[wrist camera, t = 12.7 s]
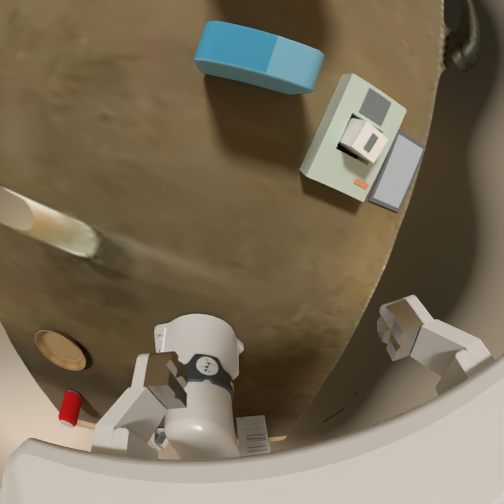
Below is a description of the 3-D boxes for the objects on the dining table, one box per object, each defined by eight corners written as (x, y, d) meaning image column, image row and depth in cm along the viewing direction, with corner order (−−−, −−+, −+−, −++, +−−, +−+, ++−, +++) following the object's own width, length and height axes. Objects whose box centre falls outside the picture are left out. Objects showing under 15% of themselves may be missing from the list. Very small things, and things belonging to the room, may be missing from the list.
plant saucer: (43, 313, 47) (38, 320, 45) (95, 345, 53) (92, 354, 51) (36, 342, 52) (32, 349, 49) (81, 369, 58) (78, 377, 55)
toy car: (199, 450, 69) (206, 458, 75) (199, 425, 78) (205, 436, 83) (147, 448, 68) (158, 457, 74) (149, 424, 76) (159, 435, 82)
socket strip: (353, 194, 41) (363, 202, 38) (299, 169, 38) (306, 176, 35) (393, 107, 34) (407, 110, 31) (342, 74, 31) (353, 73, 28)
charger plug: (350, 152, 37) (374, 163, 31) (330, 138, 36) (351, 146, 30) (363, 131, 36) (389, 139, 30) (344, 116, 34) (367, 121, 28)
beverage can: (86, 399, 66) (79, 430, 56) (72, 397, 65) (64, 427, 55) (76, 389, 63) (68, 421, 52) (62, 387, 62) (53, 418, 52)
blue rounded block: (297, 66, 30) (330, 54, 20) (288, 95, 32) (317, 93, 22) (210, 43, 27) (205, 18, 17) (200, 73, 30) (191, 59, 19)
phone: (395, 210, 44) (398, 212, 43) (366, 198, 42) (369, 200, 41) (422, 145, 38) (426, 146, 37) (394, 128, 36) (398, 129, 35)
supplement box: (264, 424, 80) (271, 467, 66) (237, 427, 80) (242, 470, 65) (264, 414, 75) (272, 460, 61) (235, 417, 75) (240, 464, 60)
